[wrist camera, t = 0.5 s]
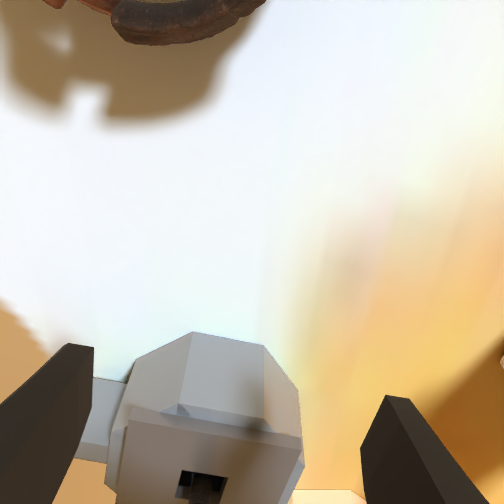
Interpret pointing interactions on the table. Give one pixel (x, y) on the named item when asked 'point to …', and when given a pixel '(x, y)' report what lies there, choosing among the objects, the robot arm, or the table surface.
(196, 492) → the metal bulb with stem
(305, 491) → the cream boxy piece
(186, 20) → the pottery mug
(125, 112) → the table surface
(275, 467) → the gray faceted block
